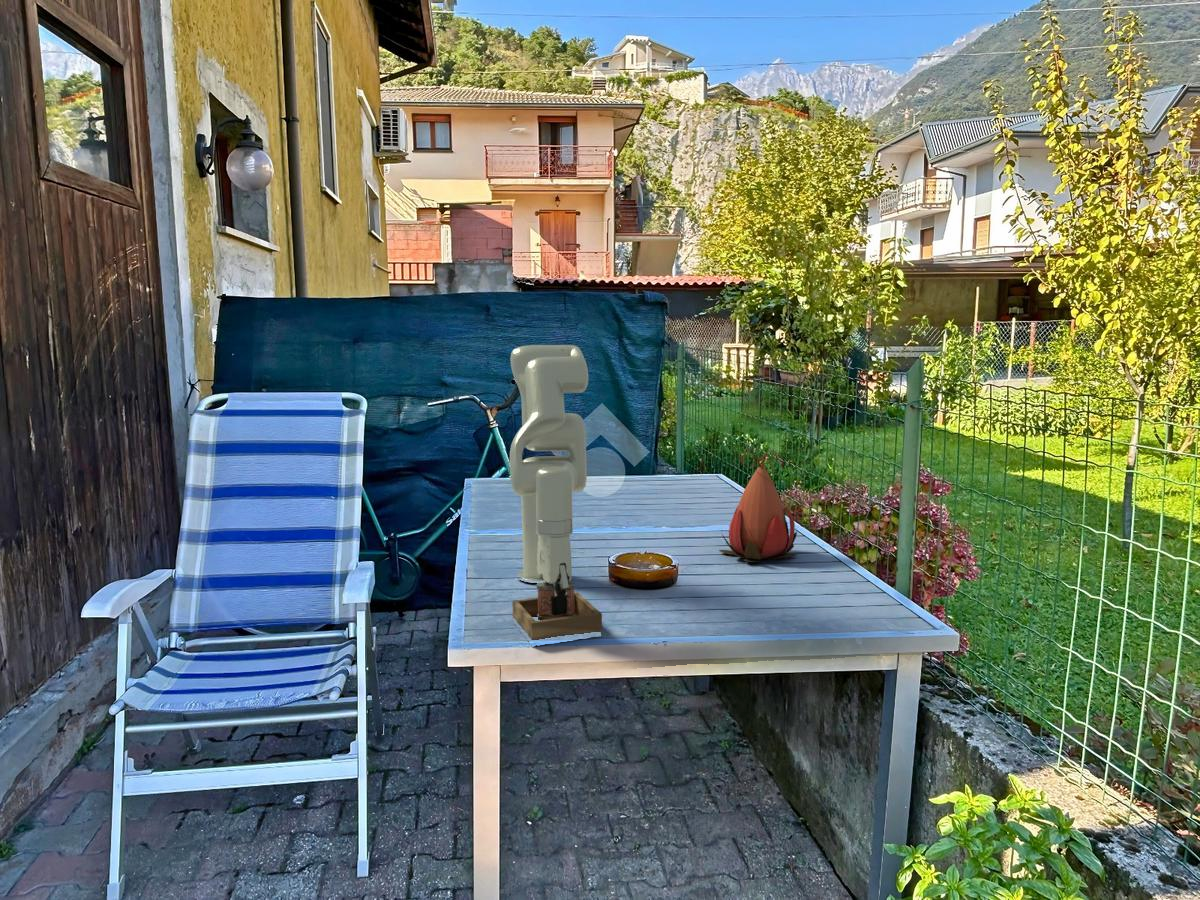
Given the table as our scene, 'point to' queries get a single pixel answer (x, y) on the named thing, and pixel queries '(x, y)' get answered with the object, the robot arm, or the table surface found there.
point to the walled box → (557, 619)
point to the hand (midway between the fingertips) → (556, 609)
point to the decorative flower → (761, 521)
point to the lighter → (546, 600)
